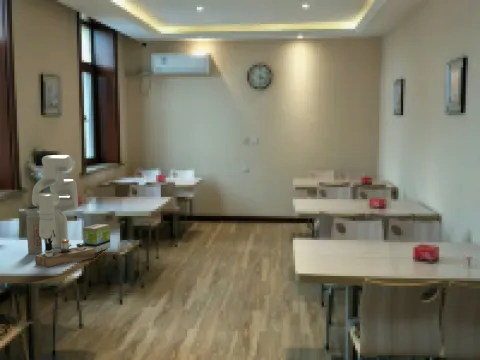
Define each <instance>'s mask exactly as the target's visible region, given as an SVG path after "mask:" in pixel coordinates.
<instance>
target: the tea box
mask: <svg viewBox="0 0 480 360" xmlns="http://www.w3.org/2000/svg"><path fill="white" fill-rule="evenodd" d="M82 237H83V238H82V241H83V242H82V243H84V244H85V246H84V247H89V248H93V249H94V253H98V252H100V251H101V252H102V251H104V250H106V249H110V248H111V224H101V223H96V224H93V225H92V224H91V225H89V226H88V225H87V226H85V227H83V228H82Z"/></svg>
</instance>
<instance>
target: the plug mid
mask: <svg viewBox="0 0 480 360" xmlns="http://www.w3.org/2000/svg"><path fill="white" fill-rule="evenodd" d="M60 241H61V248H60V249H61V250H62V253H63V254H64V253H69V249H70V246H69V243H70V239H69V238H68V239H63V240H60Z"/></svg>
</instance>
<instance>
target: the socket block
mask: <svg viewBox="0 0 480 360" xmlns="http://www.w3.org/2000/svg"><path fill="white" fill-rule="evenodd" d="M95 253H96V252H94V249H93V248H89V247H84V250H77V246H76V247H75V246H74V247H69V253H64V254H63V253H62V250H56V251H53V256H50V257H45V253H40V254H34V258H35V259H34V261H35V265H36V266H39V267H43V268H51V267H57V266H61V265H66V264H70V263H76V262H80V261H83V260H88V259H94V258H95Z"/></svg>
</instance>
